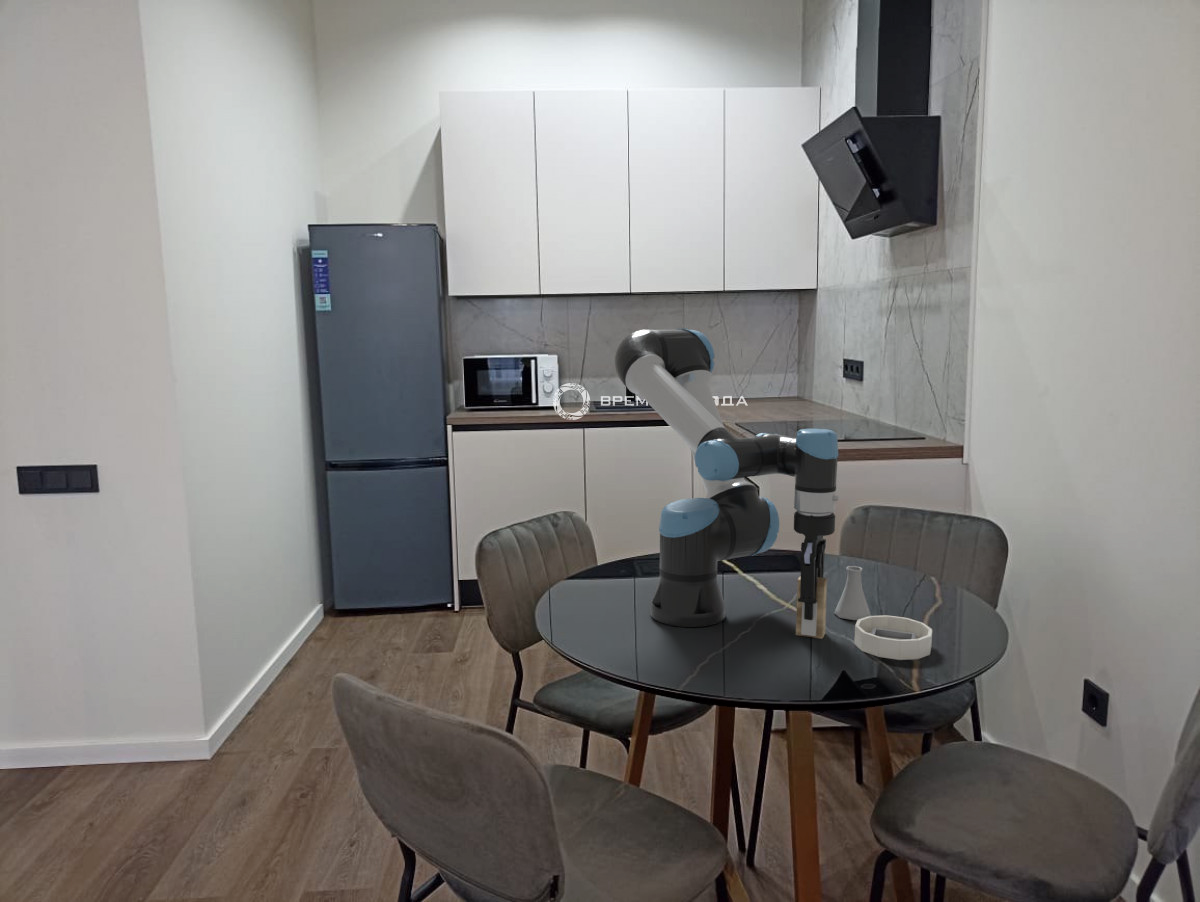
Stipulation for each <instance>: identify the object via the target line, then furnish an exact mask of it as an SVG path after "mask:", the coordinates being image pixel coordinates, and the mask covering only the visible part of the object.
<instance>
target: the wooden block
mask: <svg viewBox="0 0 1200 902" xmlns="http://www.w3.org/2000/svg"><path fill="white" fill-rule="evenodd" d="M796 583H797V587H796V589H797V591H796V613H795V614H796V617H795V619H796V620H795V636H800V637H809V638H815V639H820V640H822V639H823V638H824V636H825V634H826V618H827V592H828V589H827V587H828V578H827V577H823V578H821V577H817V594H816V599H817V601H816V602H817V628H816V636H809V635H802V634H801V624H802V602H798V598H800V584H801V574H800V576H799V577H798V578H797V581H796Z"/></svg>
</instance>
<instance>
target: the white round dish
mask: <svg viewBox="0 0 1200 902" xmlns="http://www.w3.org/2000/svg"><path fill="white" fill-rule="evenodd" d="M932 638H933V628H931V627H930V626H928V625H926V624H925V623H924V622H922V621H918V620H915V619H912V618H909V617H902V616H894V615H889V614H888V615H887V614H886V615H883V614H882V615H871V616H868V617H865V618H862V619H859V620H856V623H855V625H854V641H853V642H854V643H853V644H854V645H855V646H856V647H857V648H858V649H859V650H860V651H861V652H863V653H867V654H868V655H869V654H870V655H872V656H876V657H878V658H885V659H890V660H891V659H892V660H897V661H903V660H905V661H906V660H920V659H922V658H925V657H927V656H930V655H931V651H932V644H933V643H932V642H933V639H932Z"/></svg>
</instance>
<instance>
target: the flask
mask: <svg viewBox="0 0 1200 902" xmlns="http://www.w3.org/2000/svg"><path fill="white" fill-rule="evenodd" d="M845 569H846V571H847V577H846V581H845V586H844V589H843V591H842V594H841V596H840V598H839V600H838V603H837V606H836V607H835V609H834V615H836V616H837V617H838V618H840V619H845V620H852V621H857V620H859V619H862V618H865V617H868V616H872V614H871V611H870V608H869V605H868V602H867V599H866V596H865V593H864V589H863V586H862V585H863V584H862V572H863V568H862V567H861V566H856V565H852V566H851V565H850V566H849V565H848V566H846V567H845Z"/></svg>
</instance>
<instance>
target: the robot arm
mask: <svg viewBox="0 0 1200 902" xmlns="http://www.w3.org/2000/svg"><path fill="white" fill-rule="evenodd" d="M714 359H715V350H714V349H713V345H712V343H711V341H710V340H709V338H708V337H707V335H705V334H704V333H702V332H701V331H698V330H694V329H687V328H677V329H639V330H636V331H633V332H631V333H629V334H627V335H626V336H625V337H624V338H623V339H622V340H621V342H620V343H619V344H618V347H617V349H616V351H615V355H614V366H615V371H616V374H617V376H618V379H619V380H620V382H621V384H623V385H624V387H626V388H627V389H628V390H629V392H631V393H632V394H636V395H640V396H641V397H642V399H644V400H645V401H646V402H647V403H648V404H649V406H650V407H651V408H652V409H653V410H654V411H655V412H656V414H658V415H659V416H660V417H661V419H663V420H664V421H665V422H666V424H667V425H668V426H669V427H670V428H672V430H673V431H674V432H675V433H676V435H678V436H679V437H680V438H681V440H683V441H684V443H685V444H686V445H688V446H689V449H690V452H691V455H692V457H693V460H694V463H695V467H696V468H697V472H698V474H699V476H700V479H701V482H702V484H703V487H704V490H705V492H706V496H705V497H694V498H682V499H678V500H675V501H672V502H670V503H668V504H666V505H665V506H664V507H663V508H662V509H661V512H660V519H659V525H658V526H659V527H658V531H659V578H658V581H657V584H656V588H655V590H654V593H653V596H652V598H651V601H650V616H651V617H652V619H654V620H655V621H656V622H659V623H662V624H665V625H670V626H673V627H683V628H699V627H708V626H713V625H716V624H719V623H721V622H722V621H723V620H724V619H725V617H726V604H725V601H724V598H723V594H722V591H721V588H720V585H719V582H718V562H719V561H725V560H731V559H736V558H741V557H743V558H744V557H753V556H755V555H757V554H761V553H764V552H768V550H770V549H771V548H772V547H773V546H774V544H775V543H776V541H777V538H778V534H779V532H780V516H779V513H778V509H777V507H776V505H775V503H773V501H772V500H769V499H768V498H766V497H764V496H763V497H762V496H759V493H758V491H757V489H756V485H755V484H754V483H752V482H749V481H747V480H745V478H750V477H758V476H759V477H760V476H768V475H777V474H778V475H779V474H780V475H785V476H790V477H794V478H795V479H794V499H793V500H794V501H793V509H794V510H795V512H793V531H794V532H796V533H797V534H799V535H800V534H802V535H803V536H804V540H803V541H802V542H801V546H800V551H801V552H800V553H799V557H800V575H801V584H800V598H798V602H802V624H801V634H802V635H809V636H816V628H817V602H816V601H817V599H816V594H817V577H821V578H824V572H825V554H826V553H825V552H826V547H827V545H826V544H827V540H826V538H824V537H826V536H831V535H833V534H834V533H835V530H836V514H835V513H834V512H835V511H836V502H839V501H840V497H839V495H836V493H837V474H838V473H837V472H838V461H839V460H838V458H839V454H840V452H839V444H838V443H839V442H838V439H839V438H838V434H837V433H836V432H835V431H834V430H831V429H826V428H802V429H799V430H798V431H797V432H796V437H795V436H791V435H783V434H779V433H777V432H769V433H768V432H761V433H758V434H756V435H755V436H753V437H739V438H738V437H735V436H734V434H732V433H731V432H730V431H729V430H728V429H727V428H726V427H725V426H724V423H723V421H722V418H721V414H720V412H719V410H718V408H717V405H716V402H715V399H714V397H713V395H712V391H711V390H710V387H709V384H710V381H711V380H712V377H713V375H712V372H713V370H714V369H715V361H714Z"/></svg>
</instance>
